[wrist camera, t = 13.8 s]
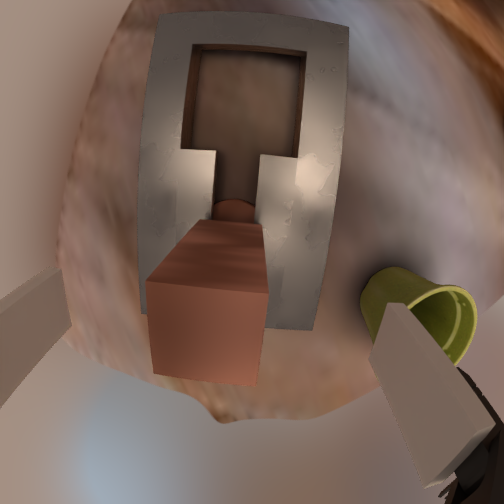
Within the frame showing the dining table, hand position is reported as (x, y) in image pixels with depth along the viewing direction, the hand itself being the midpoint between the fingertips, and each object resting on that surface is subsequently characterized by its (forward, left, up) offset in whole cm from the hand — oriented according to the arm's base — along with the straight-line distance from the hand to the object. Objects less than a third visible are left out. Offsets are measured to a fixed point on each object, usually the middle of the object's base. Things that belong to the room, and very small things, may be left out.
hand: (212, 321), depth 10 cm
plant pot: (-15, +5, -14) cm, 21 cm away
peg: (0, 0, -14) cm, 14 cm away
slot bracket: (0, -5, -14) cm, 15 cm away
